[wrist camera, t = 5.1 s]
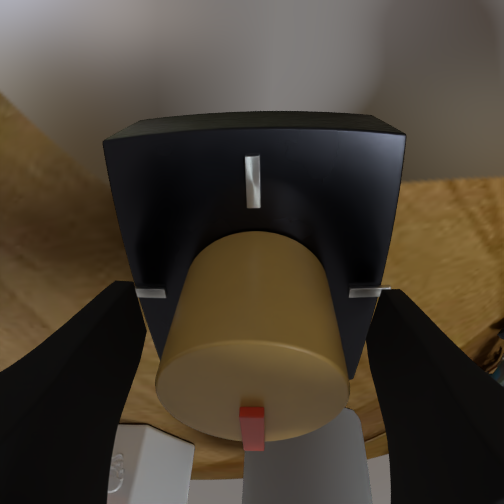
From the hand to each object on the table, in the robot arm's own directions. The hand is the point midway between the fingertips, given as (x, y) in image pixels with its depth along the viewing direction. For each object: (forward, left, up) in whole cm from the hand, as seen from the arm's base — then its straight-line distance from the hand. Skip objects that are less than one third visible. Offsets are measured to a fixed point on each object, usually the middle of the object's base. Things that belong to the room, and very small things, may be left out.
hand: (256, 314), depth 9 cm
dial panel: (0, 0, -4) cm, 4 cm away
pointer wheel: (0, 0, -1) cm, 1 cm away
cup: (+16, +3, -4) cm, 17 cm away
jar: (+20, -10, -4) cm, 23 cm away
